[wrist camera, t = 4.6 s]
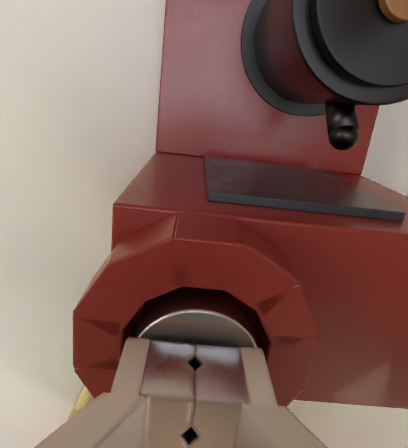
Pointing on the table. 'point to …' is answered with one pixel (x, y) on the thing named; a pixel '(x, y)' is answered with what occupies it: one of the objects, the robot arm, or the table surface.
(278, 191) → the warming base
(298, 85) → the kettle
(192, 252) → the coffee maker
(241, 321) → the power button
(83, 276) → the table surface
